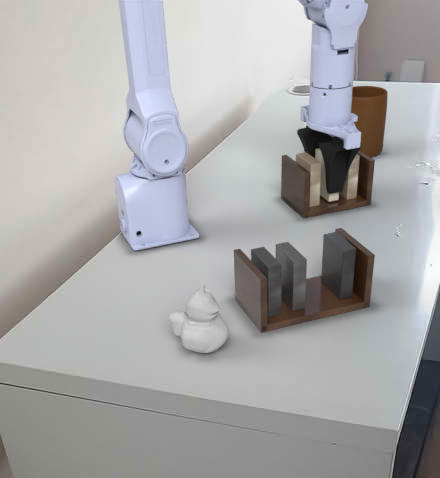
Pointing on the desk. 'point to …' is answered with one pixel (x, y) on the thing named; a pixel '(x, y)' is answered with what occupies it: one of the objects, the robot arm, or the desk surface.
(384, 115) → the mug
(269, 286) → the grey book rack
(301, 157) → the brown wooden book rack
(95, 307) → the desk surface
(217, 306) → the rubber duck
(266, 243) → the desk surface
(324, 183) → the white book
